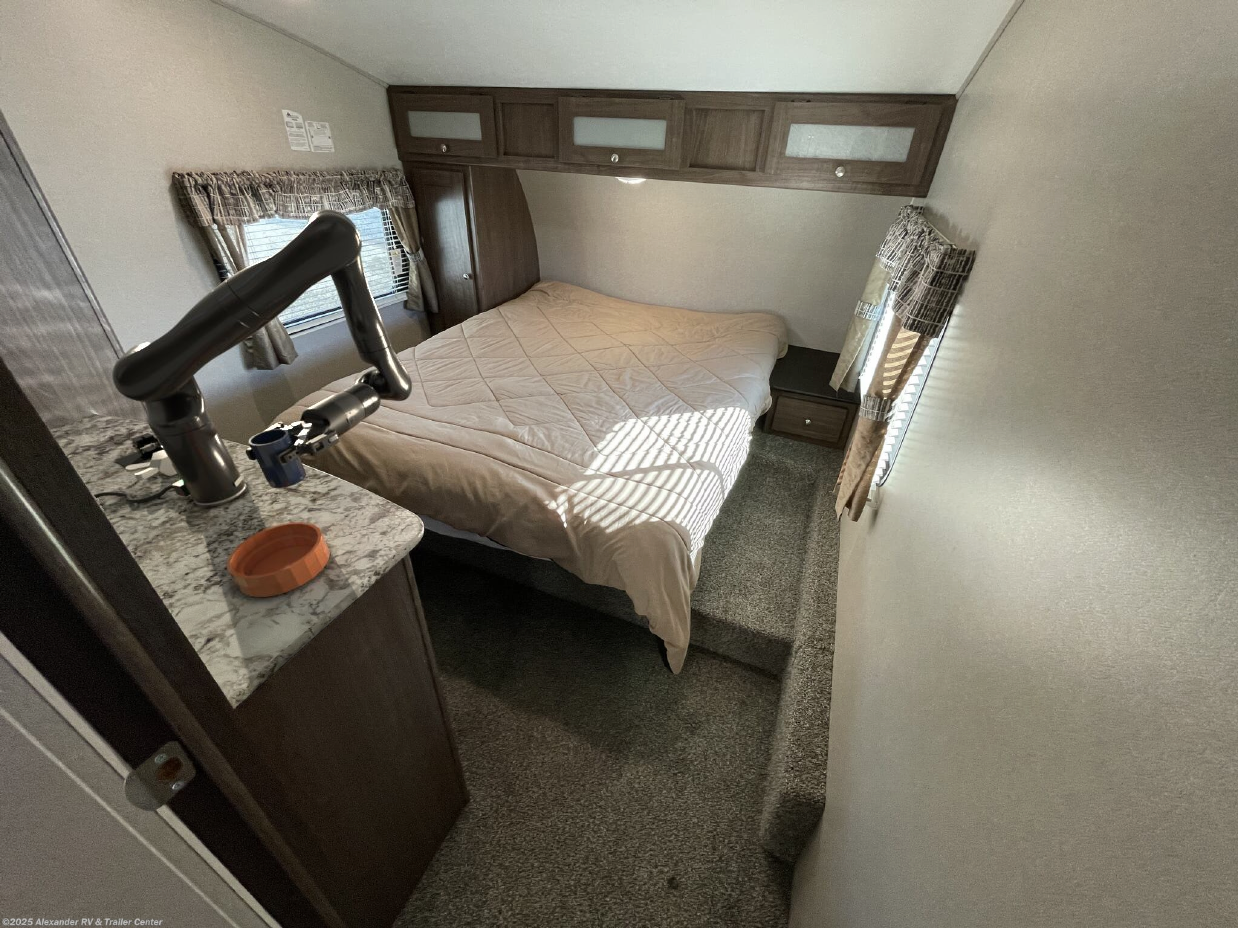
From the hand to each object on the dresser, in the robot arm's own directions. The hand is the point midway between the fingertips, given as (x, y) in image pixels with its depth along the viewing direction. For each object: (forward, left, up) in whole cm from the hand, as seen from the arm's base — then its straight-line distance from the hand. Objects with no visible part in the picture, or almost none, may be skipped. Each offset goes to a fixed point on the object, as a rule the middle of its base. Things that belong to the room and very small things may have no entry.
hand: (263, 458), depth 86 cm
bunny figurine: (-48, +11, -18) cm, 52 cm away
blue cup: (0, +2, -6) cm, 6 cm away
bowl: (+5, -8, -18) cm, 20 cm away
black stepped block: (-63, +16, -18) cm, 67 cm away
